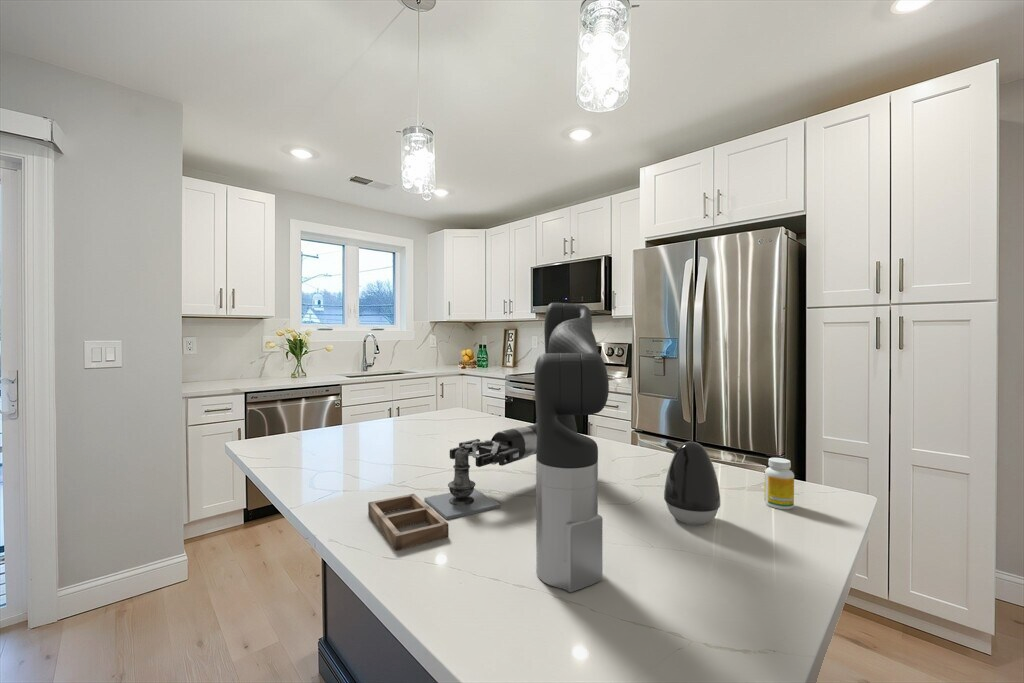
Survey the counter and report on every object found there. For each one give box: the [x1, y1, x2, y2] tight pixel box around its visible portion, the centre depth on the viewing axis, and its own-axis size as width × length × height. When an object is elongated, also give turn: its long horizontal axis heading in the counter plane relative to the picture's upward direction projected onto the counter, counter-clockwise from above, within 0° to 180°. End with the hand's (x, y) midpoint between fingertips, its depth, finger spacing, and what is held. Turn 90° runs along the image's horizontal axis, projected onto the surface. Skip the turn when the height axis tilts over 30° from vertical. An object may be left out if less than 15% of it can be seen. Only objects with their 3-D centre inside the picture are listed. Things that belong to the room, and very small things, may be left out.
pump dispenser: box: [663, 441, 721, 526], centre depth 89 cm, size 10×10×15 cm
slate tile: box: [423, 487, 501, 521], centre depth 97 cm, size 12×12×1 cm
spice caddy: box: [367, 493, 449, 551], centre depth 86 cm, size 18×10×2 cm, turn 32°
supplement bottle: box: [763, 457, 795, 511], centre depth 96 cm, size 5×5×10 cm
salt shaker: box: [447, 445, 476, 505], centre depth 97 cm, size 6×6×12 cm
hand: (463, 458), depth 98 cm, fingers open, 8 cm apart
